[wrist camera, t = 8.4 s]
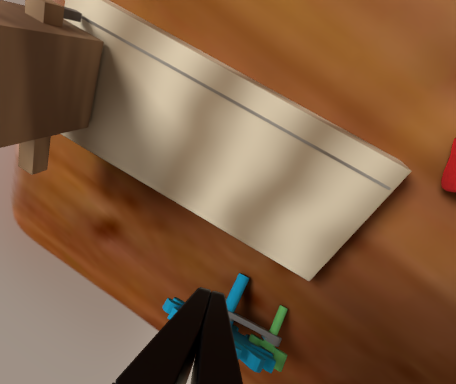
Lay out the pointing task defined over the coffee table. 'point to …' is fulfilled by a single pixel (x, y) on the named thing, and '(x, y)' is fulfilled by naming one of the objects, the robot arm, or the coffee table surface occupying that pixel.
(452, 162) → the candy bar
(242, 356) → the gear
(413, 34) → the coffee table surface
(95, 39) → the tan knobbed block
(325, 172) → the pine board
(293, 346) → the coffee table surface
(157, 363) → the robot arm
